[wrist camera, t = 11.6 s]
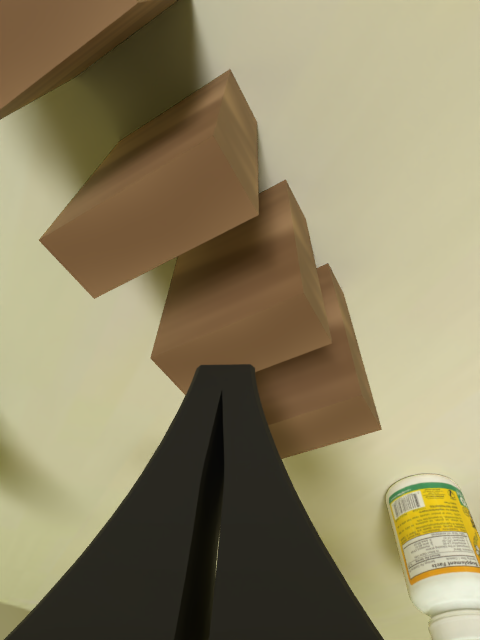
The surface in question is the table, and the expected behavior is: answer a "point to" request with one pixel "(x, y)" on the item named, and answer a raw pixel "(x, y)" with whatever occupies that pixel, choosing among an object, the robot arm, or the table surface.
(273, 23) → the table surface
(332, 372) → the domino
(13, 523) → the table surface
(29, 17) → the domino
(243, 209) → the domino
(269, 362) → the domino
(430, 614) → the supplement bottle
